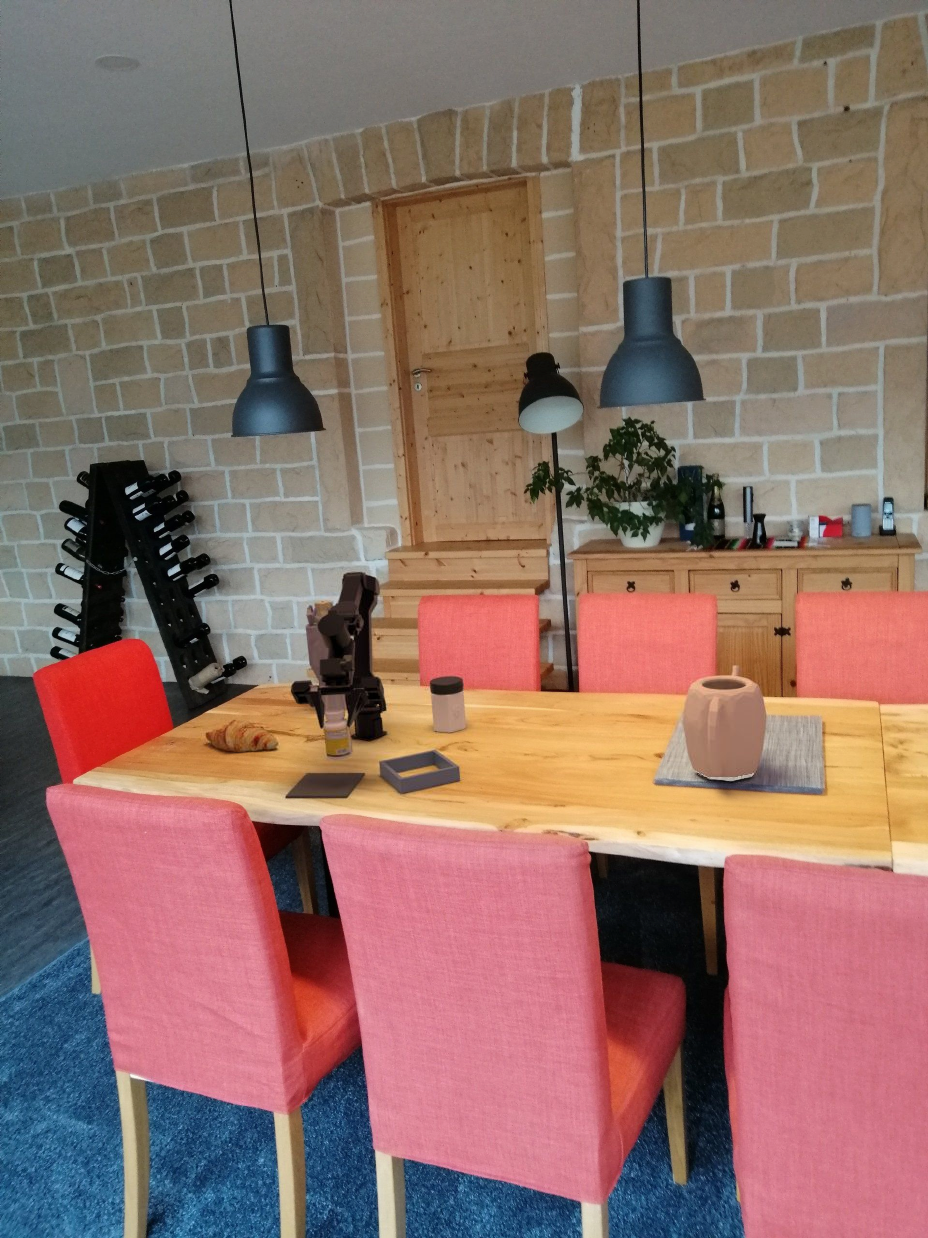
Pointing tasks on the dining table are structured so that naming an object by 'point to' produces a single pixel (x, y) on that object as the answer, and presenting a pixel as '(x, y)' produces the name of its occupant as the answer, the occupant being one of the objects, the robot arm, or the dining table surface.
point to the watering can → (724, 725)
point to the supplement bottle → (337, 735)
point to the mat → (325, 785)
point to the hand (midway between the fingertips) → (335, 727)
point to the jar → (448, 704)
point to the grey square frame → (424, 780)
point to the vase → (320, 651)
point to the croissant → (241, 737)
